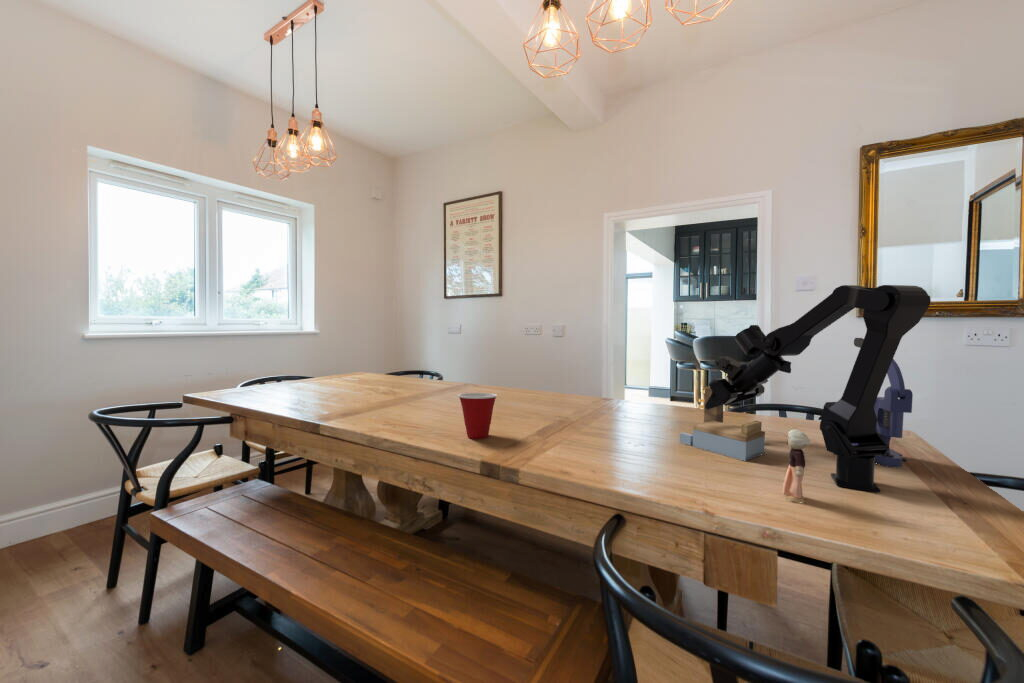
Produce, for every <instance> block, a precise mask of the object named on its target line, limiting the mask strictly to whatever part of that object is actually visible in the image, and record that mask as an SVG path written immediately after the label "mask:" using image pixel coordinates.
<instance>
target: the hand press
mask: <svg viewBox="0 0 1024 683" xmlns="http://www.w3.org/2000/svg"><path fill="white" fill-rule="evenodd" d="M863 340H864V338H863V337H855V338H854V340H853V345H854V346H855V347H856V348H861V345H862V343H863ZM886 376H887V378H888V380H889V384H890V386H888V387H886V388H885V390H884V396H877V399H876V401H875V403H874V410H875V414H876V417H877V425H876V431H877V432H878V433H879V435H880V436H881V437H882V438H883V440H884V441H885V442H886V443H887V444H888V446H889V447H890V445H891V444H890V442H891V439H892V438H896V439H897V438H898V439H902V438H903V432H904V415H905V414H907V413H908V414H912V410H913V398H914V397H913V396H914V395H913V391H912V390H911V389H909V388H908V389H907V388H906V386H905V380H904V378H903V373H902V371H901V368H900V367H899V365H898V363H897V361H896V360H895V359H894V358H893V360H892V362H891V365H890V367H889V370H888V372H887V374H886ZM904 413H905V414H904ZM852 445H853V446H858V443H852ZM907 461H908V459H907V458H906V457H903V454H902V453H900V452H898V451H896V450H894V449H892V448H889V450H888V452H887V454H886V456H875V463H877V464H876V465H878V464H880V465H879V466H881V465H883V467H886V466H888V467H887V468H892V467H897V468H896V469H898V467H901V468H902V467H903V462H904V463H906V462H907Z"/></svg>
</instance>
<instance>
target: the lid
mask: <svg viewBox="0 0 1024 683" xmlns="http://www.w3.org/2000/svg"><path fill="white" fill-rule="evenodd" d="M762 426H763V425H762V421H759V420H755V421H754V420H753V421H750V422H747V423H746V422H745V423H743V424H741V425H736V424H735V425H734V424H730V423H726V422H723V423H722V422H717V421H709V422H705V423H704V422H701V423H697V424H694V425H693V427H692V430H693V429H695V430H699V431H703V432H707V433H711V434H715V435H719V436H723V437H728V438H732V439H736V440H740V441H744V442H747V441H751V440H754V439H757V438H760V437H763V436H765V437H766V431H763V430H762Z"/></svg>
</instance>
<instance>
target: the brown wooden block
mask: <svg viewBox="0 0 1024 683" xmlns="http://www.w3.org/2000/svg"><path fill="white" fill-rule="evenodd" d="M711 394H712V390H711V388H710V386H708V387H705V388H704V406H703V407H704V410H703V414H704V415H703V423H705V422H709V421H717V422H722V423H724V406H725V405H721V406H718V407H715V408H711V409H708V410H707V409H706V408H705V405H706V403H707V401H708V399H709V398H710V396H711Z"/></svg>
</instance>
